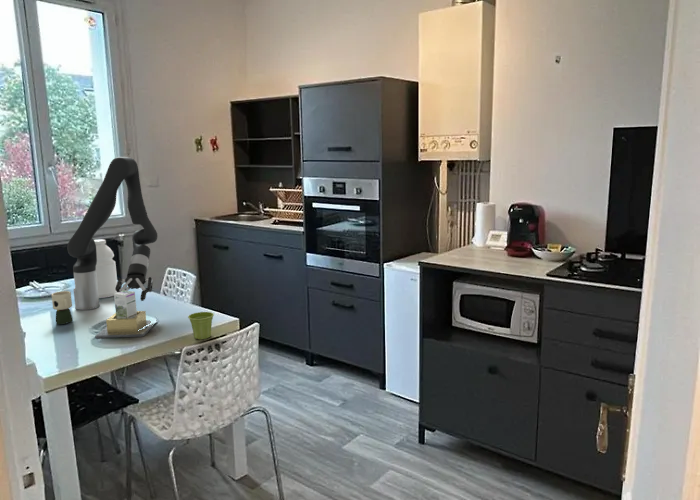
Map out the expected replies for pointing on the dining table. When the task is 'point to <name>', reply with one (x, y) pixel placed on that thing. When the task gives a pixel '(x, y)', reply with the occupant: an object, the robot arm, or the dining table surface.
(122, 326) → the hitch plate
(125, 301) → the syrup box
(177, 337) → the dining table surface
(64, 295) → the character mug
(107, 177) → the robot arm
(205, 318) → the plant pot
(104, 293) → the bottle
